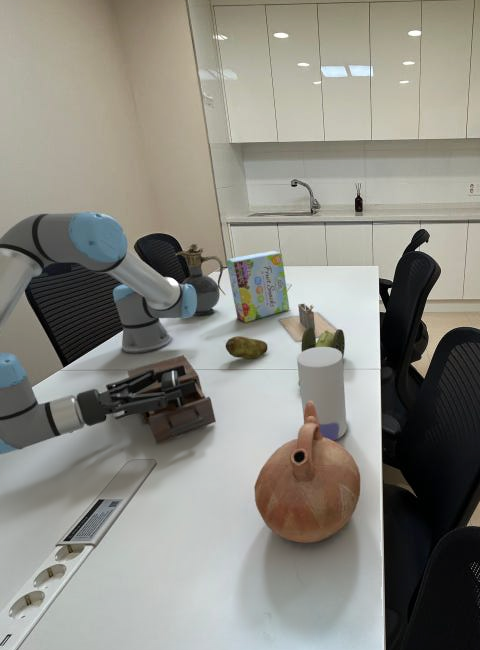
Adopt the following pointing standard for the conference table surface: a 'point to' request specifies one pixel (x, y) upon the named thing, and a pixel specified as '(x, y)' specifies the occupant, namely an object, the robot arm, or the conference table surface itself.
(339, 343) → the cannon
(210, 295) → the pitcher
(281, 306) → the snack box
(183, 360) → the cabinet
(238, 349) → the potato
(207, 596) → the conference table surface
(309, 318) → the ruin model on sheet
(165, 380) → the battery charger
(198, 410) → the drawer
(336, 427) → the container
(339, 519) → the jug
